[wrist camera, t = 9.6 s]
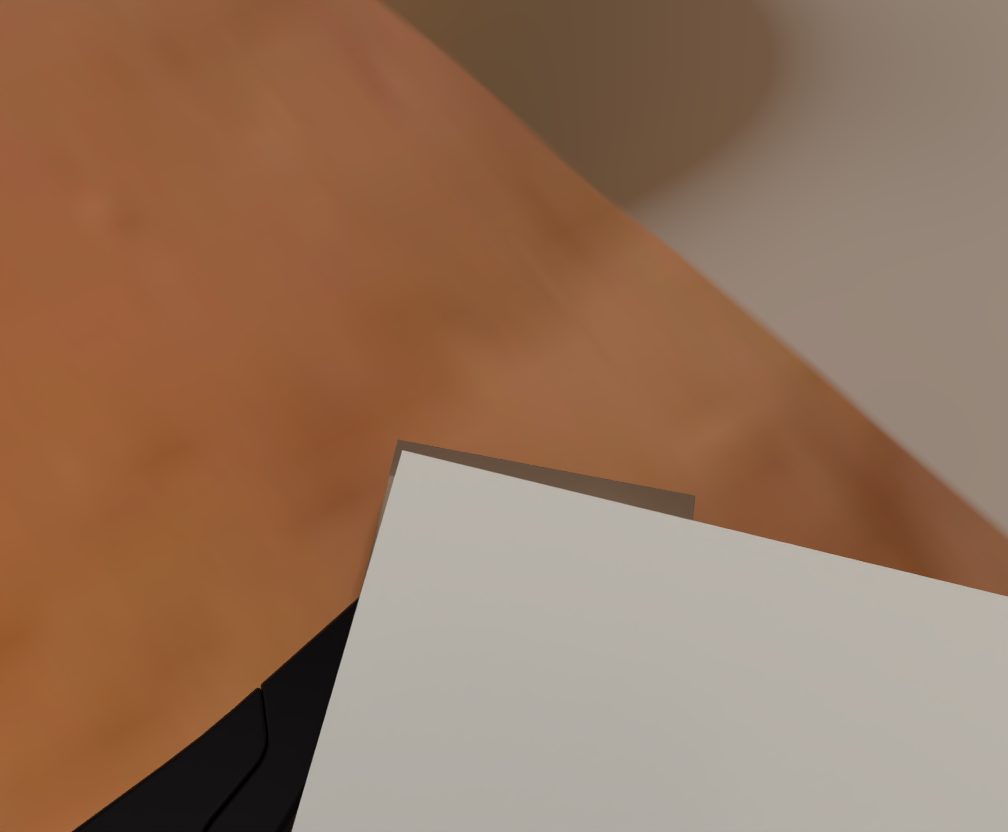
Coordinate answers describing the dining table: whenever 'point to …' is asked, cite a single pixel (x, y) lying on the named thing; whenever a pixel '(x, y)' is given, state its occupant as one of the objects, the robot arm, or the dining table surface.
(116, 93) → the dining table surface
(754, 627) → the clay block
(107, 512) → the dining table surface
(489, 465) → the rectangular frame
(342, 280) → the dining table surface
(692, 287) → the dining table surface
